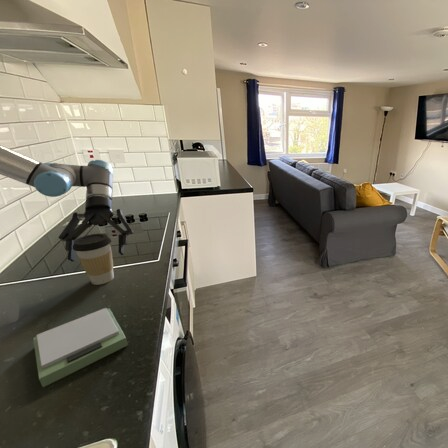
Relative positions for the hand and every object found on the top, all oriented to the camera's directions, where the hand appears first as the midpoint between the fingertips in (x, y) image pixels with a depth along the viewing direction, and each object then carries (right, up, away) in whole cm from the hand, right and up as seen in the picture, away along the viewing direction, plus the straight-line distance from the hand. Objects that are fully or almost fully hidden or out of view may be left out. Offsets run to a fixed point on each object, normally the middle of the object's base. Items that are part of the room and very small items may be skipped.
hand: (96, 256), depth 85 cm
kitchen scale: (+14, -18, -23) cm, 33 cm away
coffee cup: (0, -8, +3) cm, 9 cm away
